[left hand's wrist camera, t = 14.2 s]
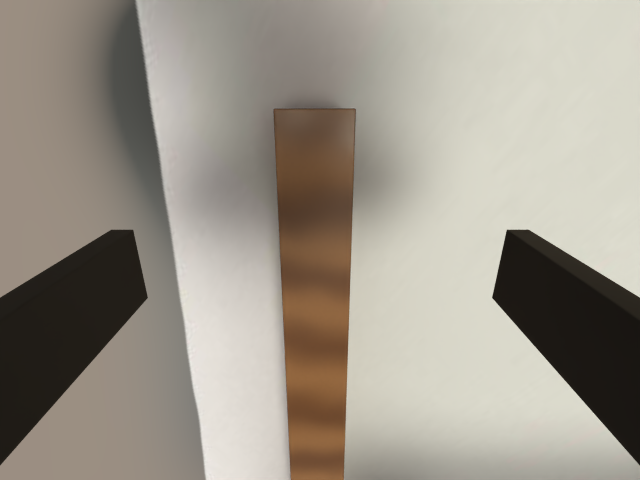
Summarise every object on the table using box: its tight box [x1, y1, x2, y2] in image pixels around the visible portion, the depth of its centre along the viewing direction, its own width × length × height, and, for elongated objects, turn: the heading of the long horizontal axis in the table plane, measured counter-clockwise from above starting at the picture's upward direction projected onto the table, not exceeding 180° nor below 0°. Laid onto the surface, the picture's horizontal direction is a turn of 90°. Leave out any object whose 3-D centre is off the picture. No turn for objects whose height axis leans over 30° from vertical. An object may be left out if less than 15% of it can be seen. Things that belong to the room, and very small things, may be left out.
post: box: [274, 109, 356, 480], centre depth 33 cm, size 54×5×8 cm, turn 0°
